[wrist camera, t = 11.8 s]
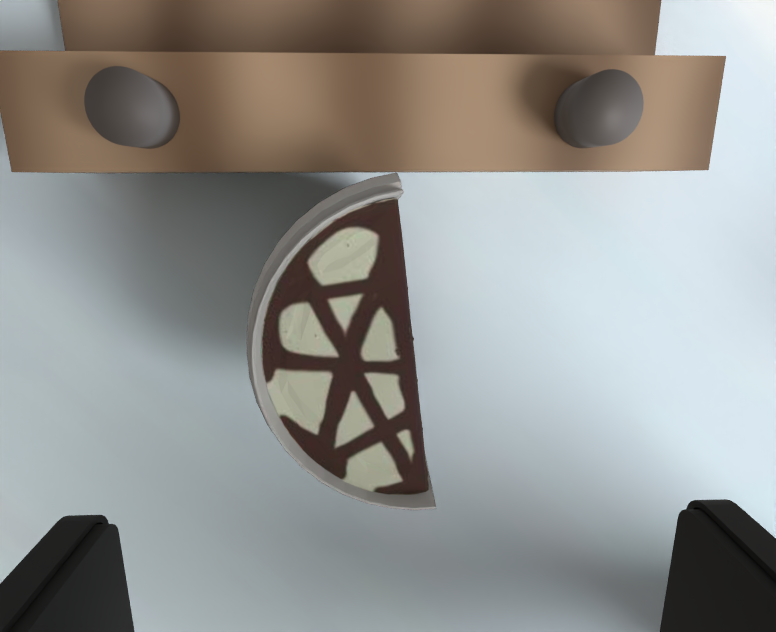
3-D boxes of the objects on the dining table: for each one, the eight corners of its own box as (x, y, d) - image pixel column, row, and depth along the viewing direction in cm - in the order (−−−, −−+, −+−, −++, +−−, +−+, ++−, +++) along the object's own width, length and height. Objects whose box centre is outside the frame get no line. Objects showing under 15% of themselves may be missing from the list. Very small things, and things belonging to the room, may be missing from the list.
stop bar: (659, -88, 23) (807, -219, 15) (629, 171, 26) (741, 169, 18) (54, -100, 21) (-112, -249, 14) (94, 173, 24) (-25, 171, 17)
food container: (260, 188, 25) (196, 196, 15) (386, 173, 25) (401, 171, 15) (301, 418, 28) (269, 543, 19) (412, 403, 28) (437, 521, 19)
